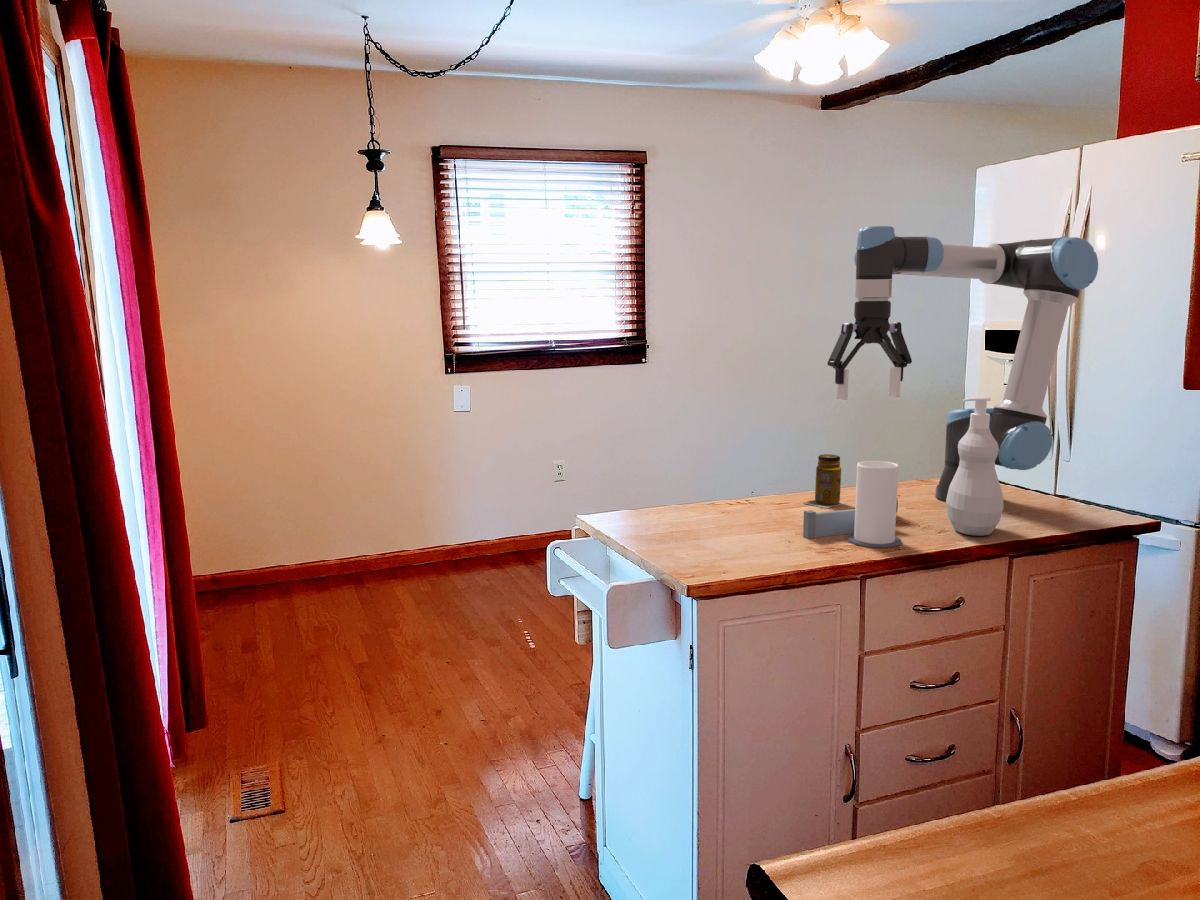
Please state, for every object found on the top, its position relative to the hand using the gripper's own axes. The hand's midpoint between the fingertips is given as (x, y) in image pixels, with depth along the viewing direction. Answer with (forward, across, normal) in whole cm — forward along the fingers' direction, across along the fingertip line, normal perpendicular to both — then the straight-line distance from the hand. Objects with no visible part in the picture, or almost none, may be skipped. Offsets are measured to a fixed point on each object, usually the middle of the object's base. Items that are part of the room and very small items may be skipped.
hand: (868, 398), depth 196 cm
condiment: (+29, -4, -21) cm, 36 cm away
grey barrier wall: (+29, +7, +4) cm, 30 cm away
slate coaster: (+29, +6, +12) cm, 32 cm away
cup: (+28, +6, +12) cm, 31 cm away
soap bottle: (+29, -19, +13) cm, 37 cm away
